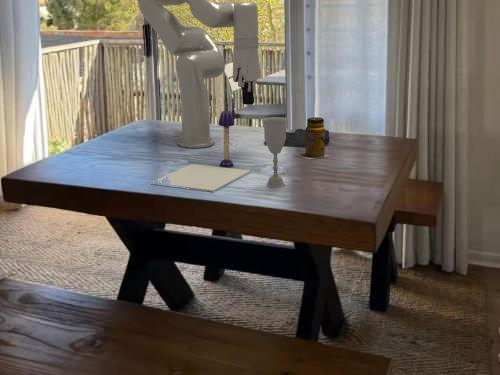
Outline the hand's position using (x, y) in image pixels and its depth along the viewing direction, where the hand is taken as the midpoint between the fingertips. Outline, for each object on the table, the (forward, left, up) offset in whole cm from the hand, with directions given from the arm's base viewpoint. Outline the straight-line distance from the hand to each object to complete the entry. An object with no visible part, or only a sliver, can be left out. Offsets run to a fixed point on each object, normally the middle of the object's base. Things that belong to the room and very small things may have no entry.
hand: (248, 103), depth 210 cm
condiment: (+18, +8, -17) cm, 26 cm away
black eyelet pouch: (+6, +25, -18) cm, 31 cm away
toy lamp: (-1, -14, -17) cm, 22 cm away
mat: (-1, -29, -17) cm, 33 cm away
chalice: (+21, -27, -17) cm, 38 cm away
